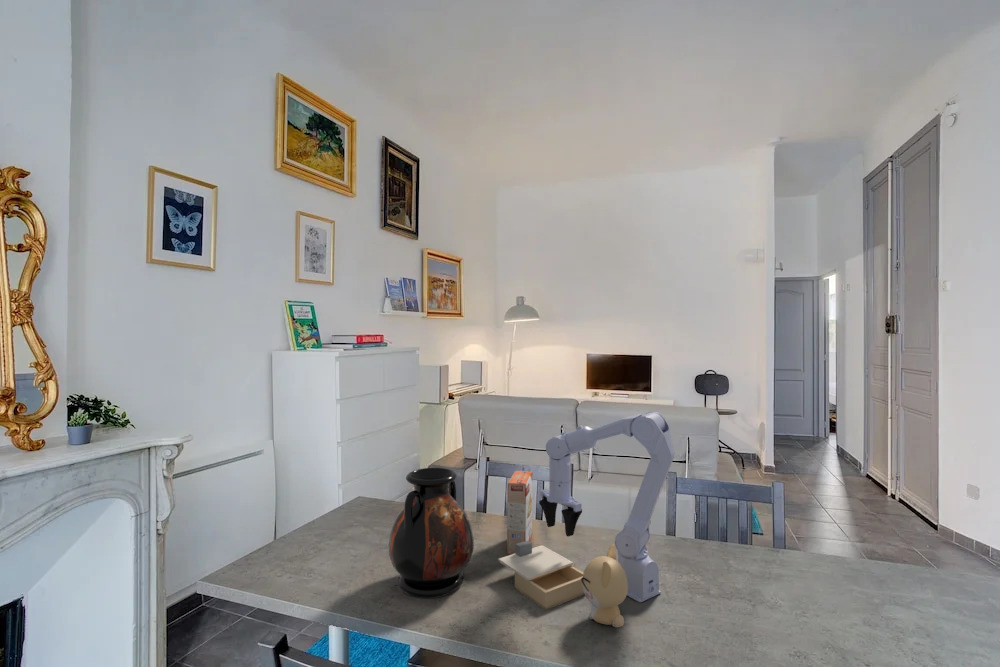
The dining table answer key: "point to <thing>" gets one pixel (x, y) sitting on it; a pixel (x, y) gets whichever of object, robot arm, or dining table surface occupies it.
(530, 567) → the carton lid
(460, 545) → the amphora vase
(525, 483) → the cracker box
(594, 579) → the kitten
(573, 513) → the robot arm
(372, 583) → the dining table surface
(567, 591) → the carton
